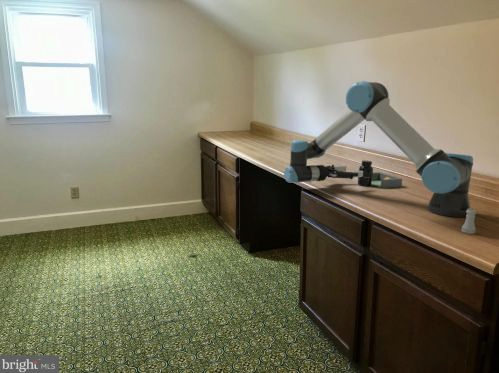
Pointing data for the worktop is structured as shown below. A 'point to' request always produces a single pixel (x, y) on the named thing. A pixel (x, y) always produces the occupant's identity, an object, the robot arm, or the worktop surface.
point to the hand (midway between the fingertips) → (353, 171)
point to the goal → (385, 180)
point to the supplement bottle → (366, 173)
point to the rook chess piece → (469, 222)
